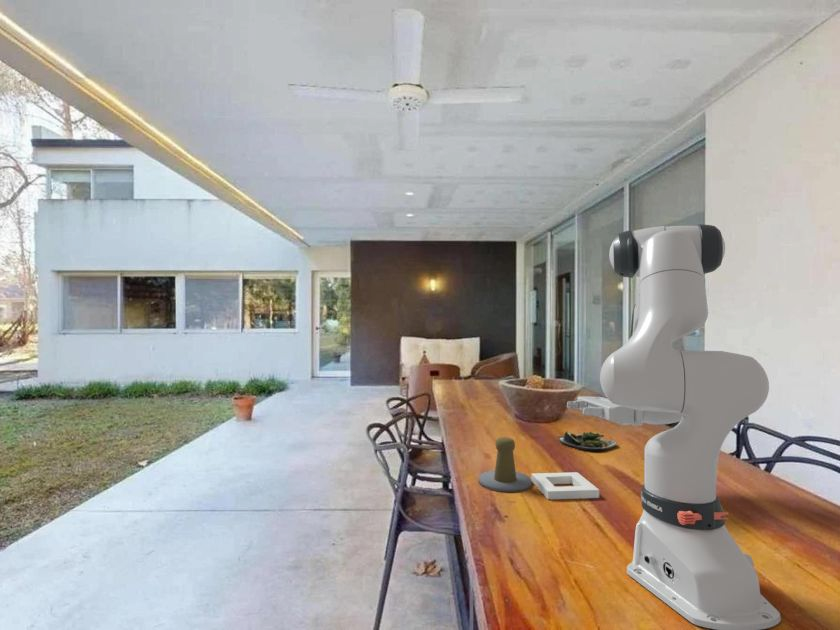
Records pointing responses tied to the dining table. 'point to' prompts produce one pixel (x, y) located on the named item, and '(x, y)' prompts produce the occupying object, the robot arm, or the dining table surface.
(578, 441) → the salad plate
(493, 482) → the charcoal mat
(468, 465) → the dining table surface
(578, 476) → the white square frame
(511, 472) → the olive pawn
